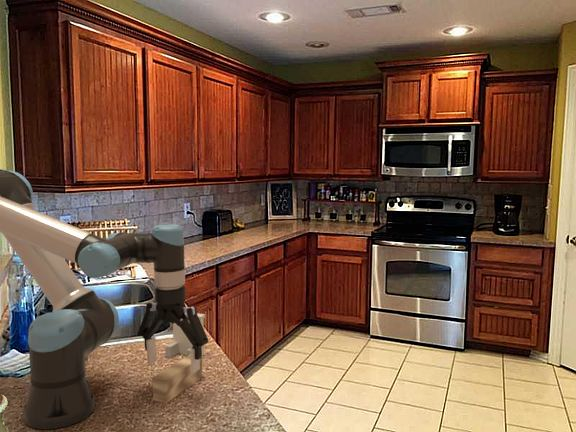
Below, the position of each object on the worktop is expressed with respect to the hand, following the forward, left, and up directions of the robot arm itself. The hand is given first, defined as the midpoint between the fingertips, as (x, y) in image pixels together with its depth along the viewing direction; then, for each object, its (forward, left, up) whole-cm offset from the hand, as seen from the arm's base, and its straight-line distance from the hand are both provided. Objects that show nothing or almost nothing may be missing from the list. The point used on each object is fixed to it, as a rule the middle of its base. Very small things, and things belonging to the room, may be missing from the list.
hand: (173, 366), depth 123 cm
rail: (+3, 0, -7) cm, 8 cm away
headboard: (+22, +11, -7) cm, 26 cm away
